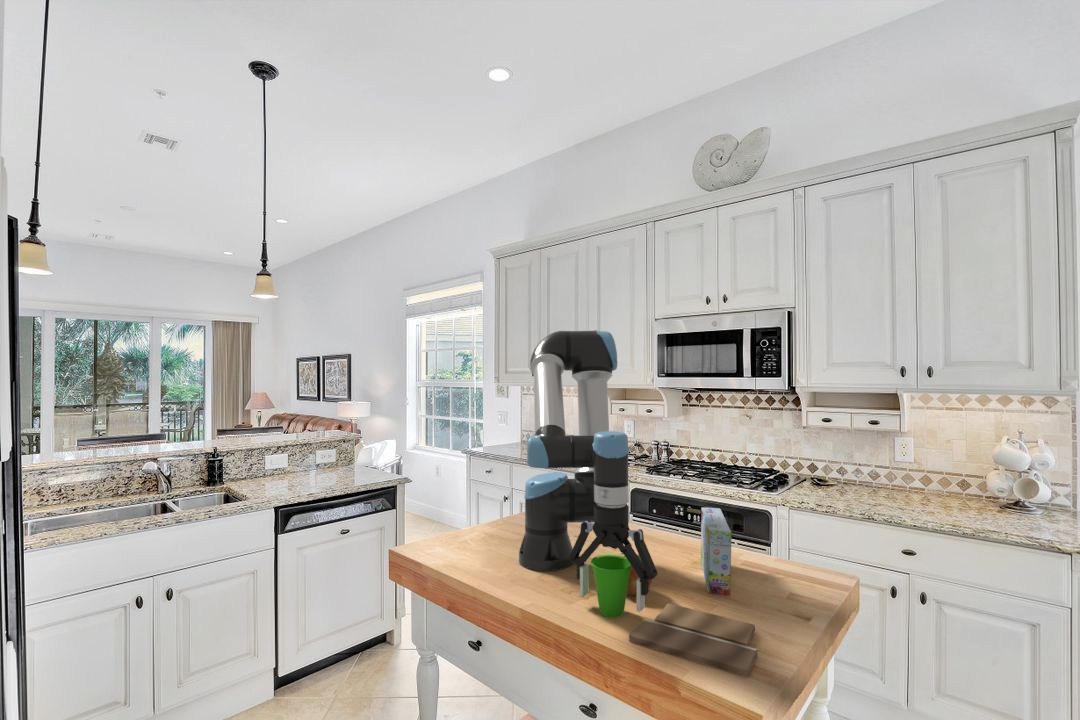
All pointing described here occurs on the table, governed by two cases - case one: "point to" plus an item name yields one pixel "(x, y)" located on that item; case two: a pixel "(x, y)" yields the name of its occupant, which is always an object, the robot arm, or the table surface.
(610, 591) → the cup
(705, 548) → the snack box
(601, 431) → the robot arm
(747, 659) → the floorboard
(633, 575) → the fruit
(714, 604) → the table surface
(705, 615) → the plank
